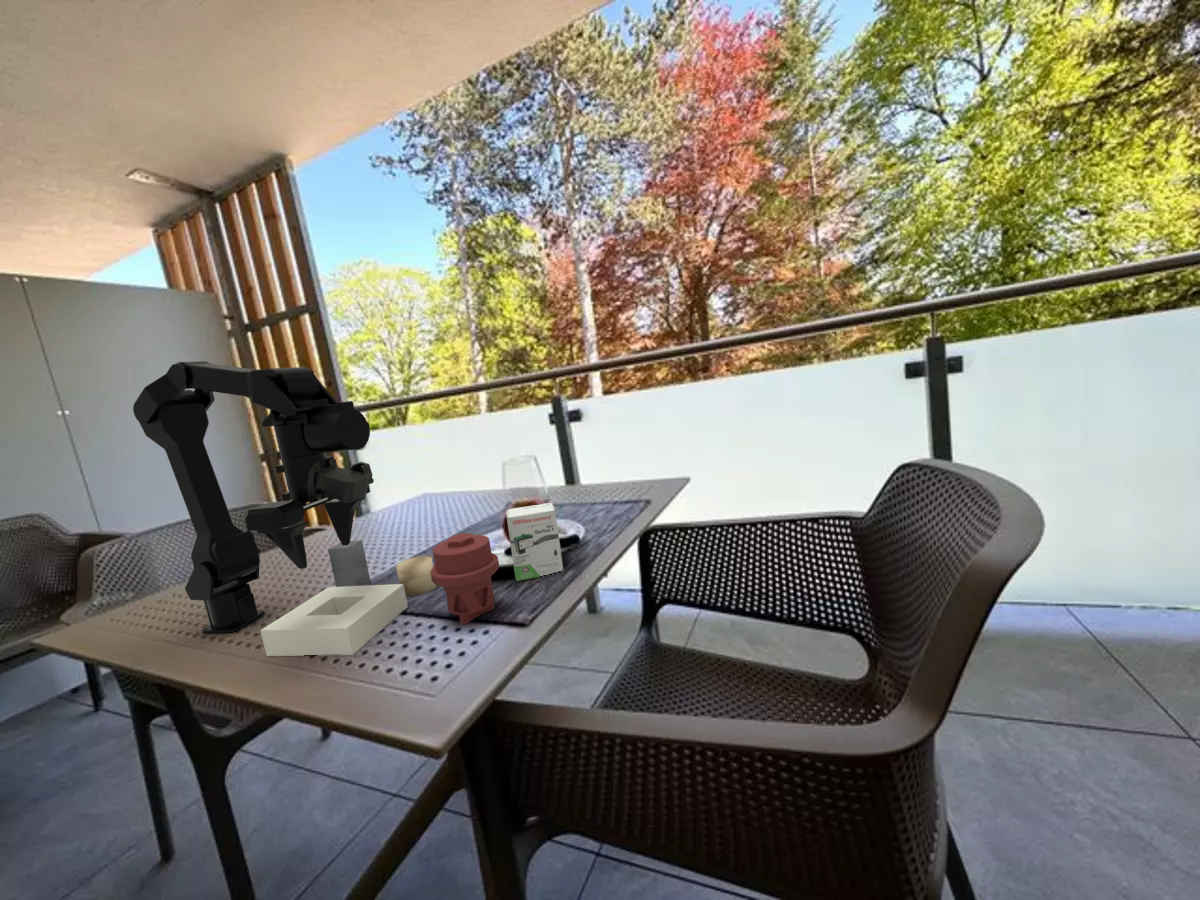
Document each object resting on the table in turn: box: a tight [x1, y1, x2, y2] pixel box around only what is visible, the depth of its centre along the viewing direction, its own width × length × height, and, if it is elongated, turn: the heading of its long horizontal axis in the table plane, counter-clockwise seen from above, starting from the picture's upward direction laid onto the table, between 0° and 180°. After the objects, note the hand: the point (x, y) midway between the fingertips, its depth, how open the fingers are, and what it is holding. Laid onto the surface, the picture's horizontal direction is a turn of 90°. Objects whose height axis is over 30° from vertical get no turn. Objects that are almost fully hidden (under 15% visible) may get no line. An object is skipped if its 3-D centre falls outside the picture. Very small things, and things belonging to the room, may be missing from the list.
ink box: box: [505, 502, 564, 582], centre depth 91 cm, size 9×5×12 cm, turn 102°
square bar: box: [327, 539, 372, 587], centre depth 93 cm, size 4×4×9 cm
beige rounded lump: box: [395, 555, 437, 597], centre depth 91 cm, size 6×6×5 cm
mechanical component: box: [430, 532, 500, 625], centre depth 78 cm, size 12×10×10 cm
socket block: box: [260, 583, 409, 657], centre depth 78 cm, size 14×14×4 cm
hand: (325, 555), depth 77 cm, fingers open, 9 cm apart
